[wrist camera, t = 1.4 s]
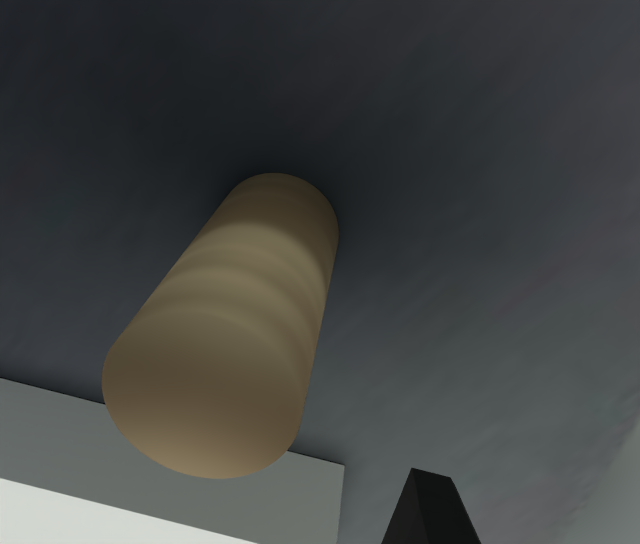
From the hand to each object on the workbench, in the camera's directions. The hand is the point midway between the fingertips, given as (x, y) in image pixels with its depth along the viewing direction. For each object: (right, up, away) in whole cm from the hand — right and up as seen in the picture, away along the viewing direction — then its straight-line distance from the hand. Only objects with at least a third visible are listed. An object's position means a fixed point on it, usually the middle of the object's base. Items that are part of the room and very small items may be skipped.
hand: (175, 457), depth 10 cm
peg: (+1, +4, +8) cm, 9 cm away
